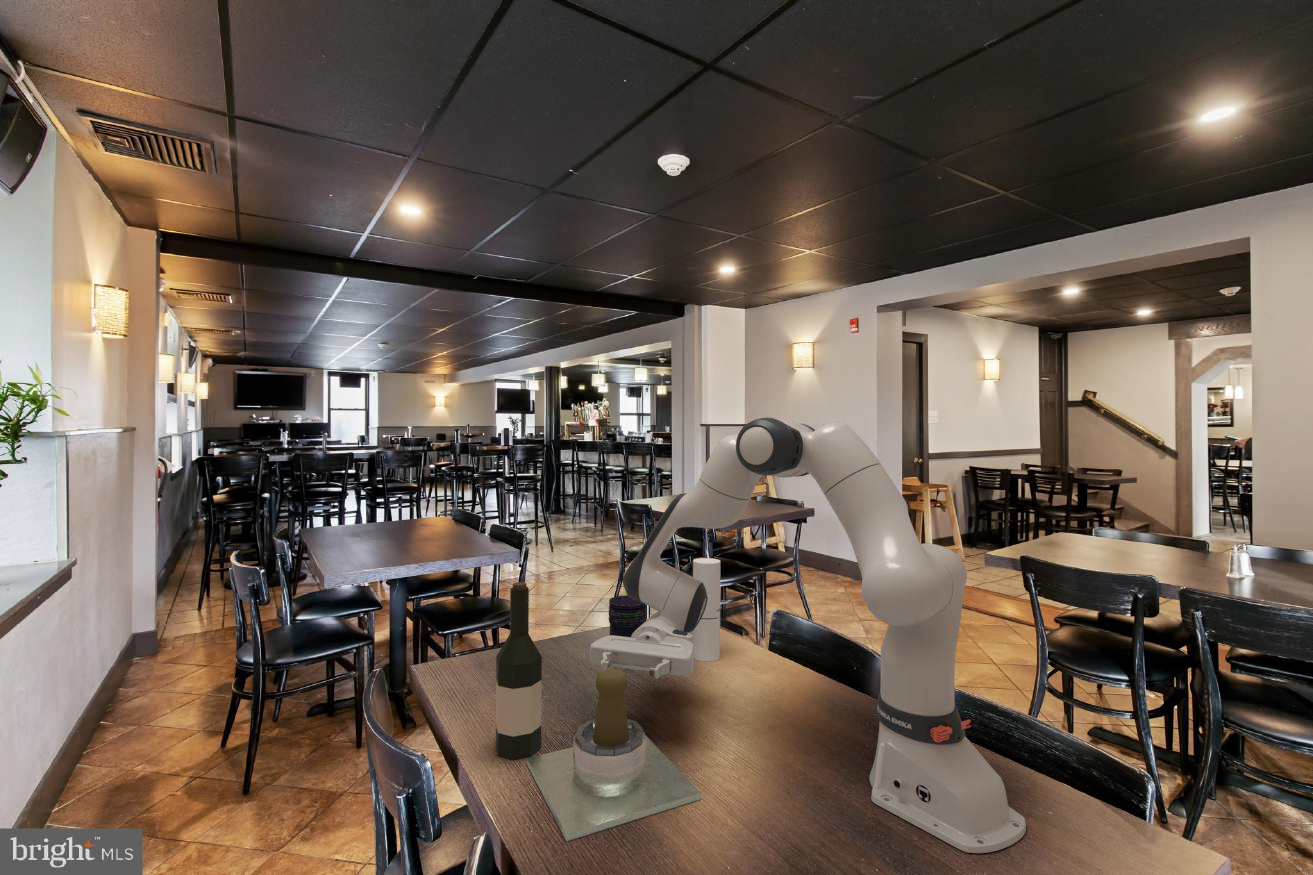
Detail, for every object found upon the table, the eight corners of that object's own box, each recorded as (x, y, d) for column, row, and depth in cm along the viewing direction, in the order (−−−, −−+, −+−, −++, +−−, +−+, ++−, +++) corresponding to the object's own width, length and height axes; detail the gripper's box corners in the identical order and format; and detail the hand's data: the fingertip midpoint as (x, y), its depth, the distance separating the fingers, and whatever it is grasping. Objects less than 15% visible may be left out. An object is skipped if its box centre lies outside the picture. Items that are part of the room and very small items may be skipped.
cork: (625, 749, 94) (626, 680, 94) (588, 746, 95) (589, 677, 95) (632, 731, 100) (633, 666, 100) (597, 728, 101) (598, 663, 101)
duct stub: (700, 799, 92) (701, 748, 92) (566, 841, 82) (566, 784, 82) (641, 735, 112) (641, 693, 112) (526, 763, 102) (527, 717, 102)
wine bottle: (525, 731, 113) (526, 576, 113) (550, 748, 107) (551, 583, 107) (486, 747, 107) (487, 583, 108) (510, 765, 101) (511, 592, 102)
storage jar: (654, 657, 153) (654, 600, 153) (627, 668, 145) (628, 607, 145) (626, 648, 159) (627, 593, 159) (600, 658, 152) (600, 600, 152)
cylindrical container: (724, 654, 155) (725, 560, 155) (712, 663, 149) (712, 564, 149) (700, 649, 159) (701, 557, 159) (687, 657, 152) (688, 561, 153)
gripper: (605, 623, 122) (575, 645, 109) (701, 634, 115) (682, 659, 102) (604, 654, 122) (575, 680, 109) (700, 667, 115) (682, 696, 102)
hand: (628, 670), depth 105 cm, fingers open, 8 cm apart
